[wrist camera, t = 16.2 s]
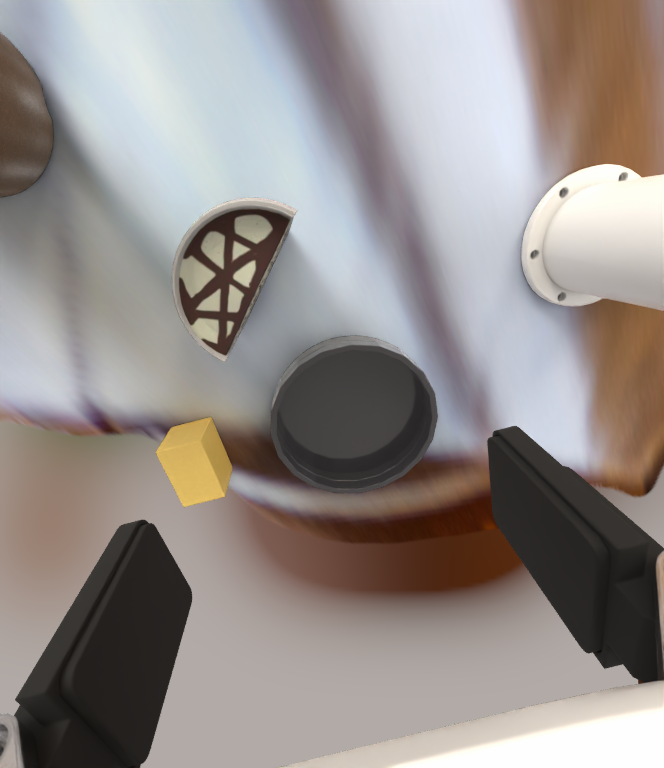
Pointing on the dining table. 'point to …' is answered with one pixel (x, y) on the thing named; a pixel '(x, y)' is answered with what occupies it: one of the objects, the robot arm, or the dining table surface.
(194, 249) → the food container
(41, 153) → the plant pot
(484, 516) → the dining table surface
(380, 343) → the round cake pan
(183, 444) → the cheese
